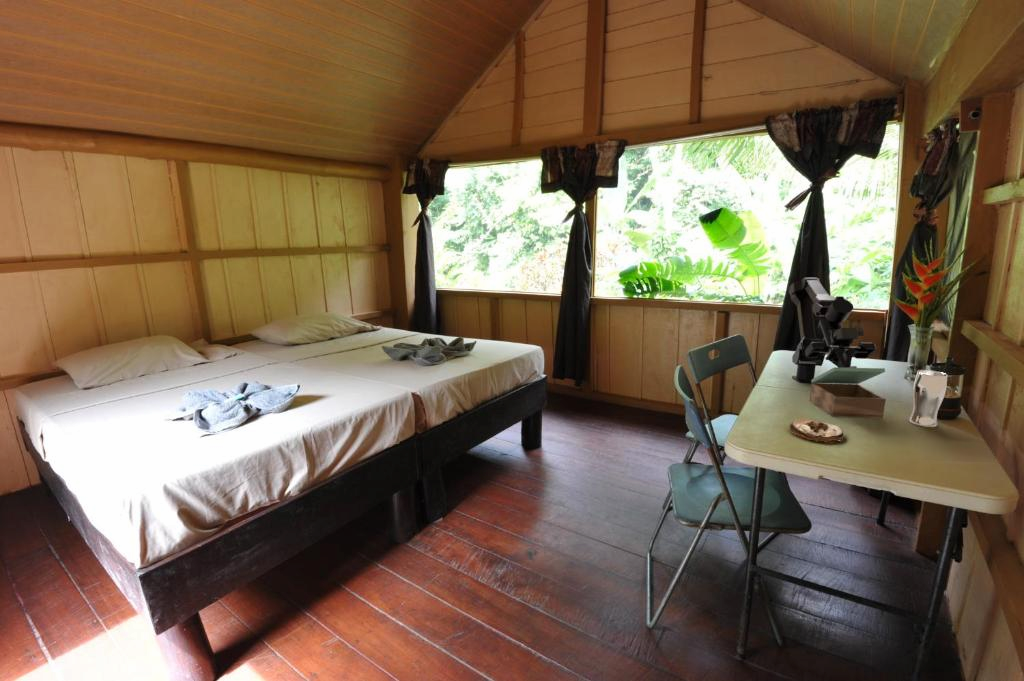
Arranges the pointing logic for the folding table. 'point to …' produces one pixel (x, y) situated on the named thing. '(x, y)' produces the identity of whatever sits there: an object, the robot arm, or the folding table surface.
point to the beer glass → (927, 397)
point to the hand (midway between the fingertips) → (847, 373)
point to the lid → (848, 375)
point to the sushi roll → (816, 430)
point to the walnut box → (847, 400)
